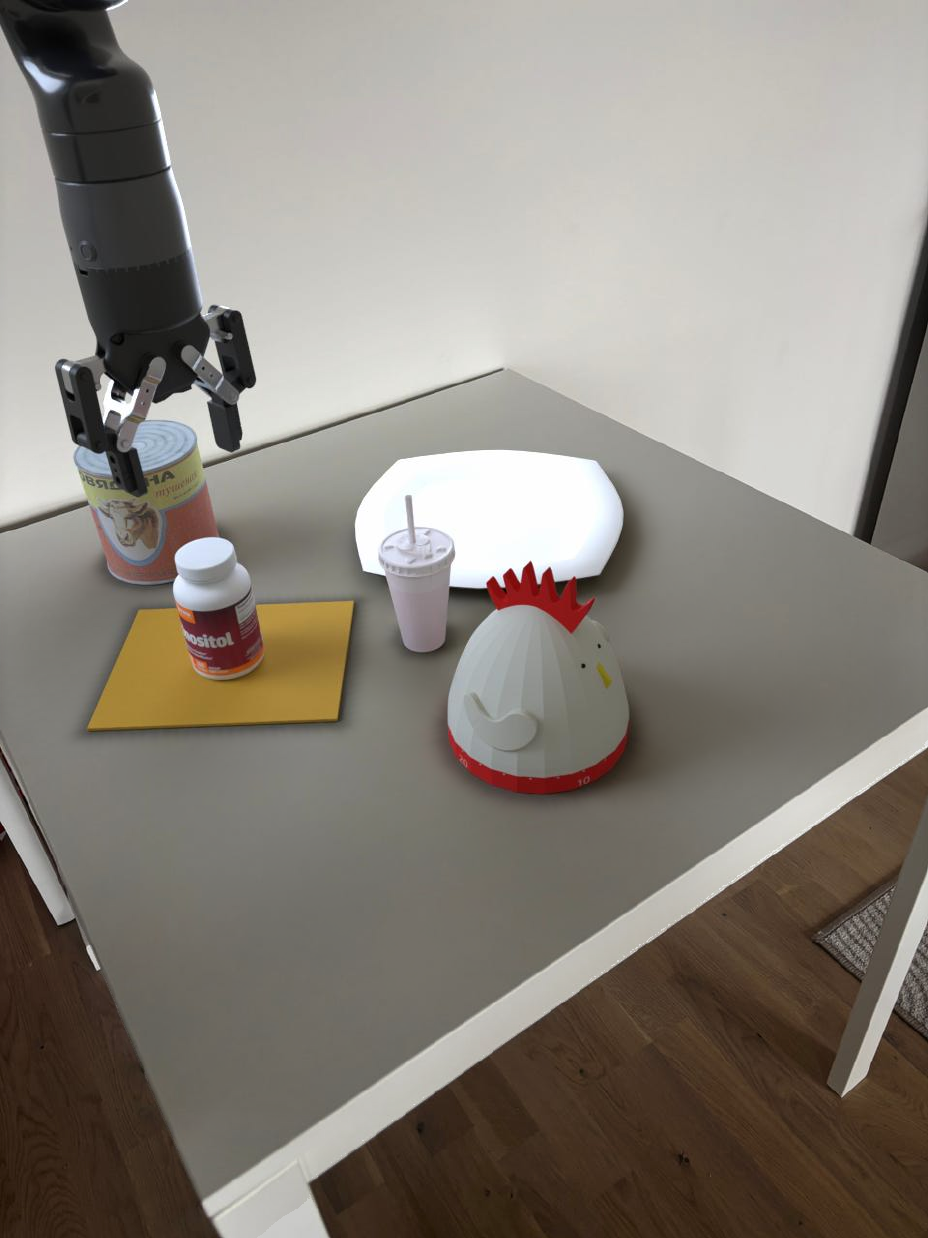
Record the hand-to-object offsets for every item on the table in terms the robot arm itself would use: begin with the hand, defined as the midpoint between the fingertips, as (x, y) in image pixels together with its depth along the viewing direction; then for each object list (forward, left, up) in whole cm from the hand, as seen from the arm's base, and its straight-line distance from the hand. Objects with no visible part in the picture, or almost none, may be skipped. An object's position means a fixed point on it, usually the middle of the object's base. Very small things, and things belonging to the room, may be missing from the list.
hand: (183, 470), depth 72 cm
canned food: (-13, +16, -19) cm, 28 cm away
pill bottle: (0, 0, -19) cm, 19 cm away
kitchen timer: (+27, -5, -19) cm, 33 cm away
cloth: (0, 0, -19) cm, 19 cm away
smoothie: (+16, +5, -19) cm, 25 cm away
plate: (+19, +24, -19) cm, 36 cm away
